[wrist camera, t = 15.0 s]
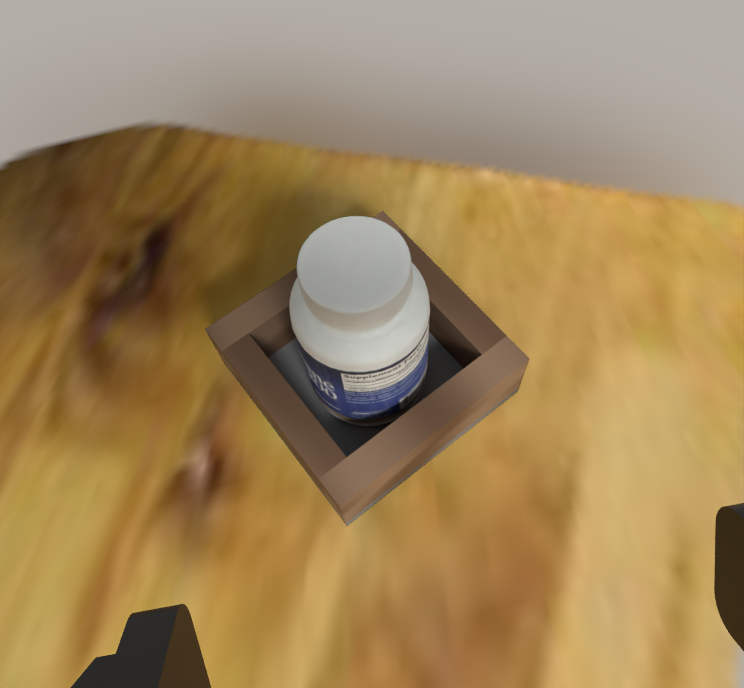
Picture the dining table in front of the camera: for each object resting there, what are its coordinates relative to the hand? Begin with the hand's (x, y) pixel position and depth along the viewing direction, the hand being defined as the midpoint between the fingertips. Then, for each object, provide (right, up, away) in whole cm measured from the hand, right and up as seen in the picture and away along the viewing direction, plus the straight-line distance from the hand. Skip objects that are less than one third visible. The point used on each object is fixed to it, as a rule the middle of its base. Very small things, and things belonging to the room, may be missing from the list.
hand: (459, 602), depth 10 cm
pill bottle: (-1, +2, +22) cm, 22 cm away
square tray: (-2, +2, +23) cm, 23 cm away
